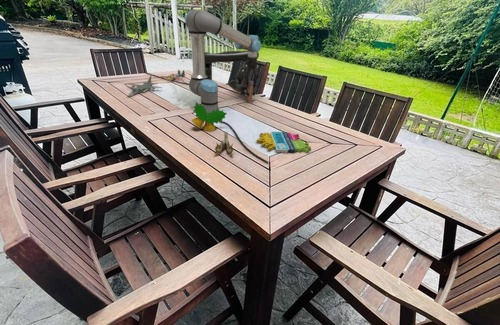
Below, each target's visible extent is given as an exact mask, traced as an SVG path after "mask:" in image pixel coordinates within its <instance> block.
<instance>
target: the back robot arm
mask: <svg viewBox="0 0 500 325" xmlns="http://www.w3.org/2000/svg"><path fill="white" fill-rule="evenodd" d="M259 57H260V54H259V51H258V52H257V57H256V58H257V60H258V59H259ZM247 60H248V50H225V51H222V52H216V53H211V52H208V51H205V74H206V75H207V77H208V80H213V64H215V63H236V62H240V61H244V63H243V64H242V66H241V67H240V69H239V70H238V72H237V73H236V75H235V79H236V80H237V81H236V80H234V79H232V80H230V81H229V82H228V86H229V87H230V89H232V90H234V91H235V92H237V93H238V94H239V95H242V96H246V97H247V96H249V93H247V91H248V87H246V85H244V84H242V82H243V80H244V78H243V74H244V66H243V65H247ZM247 71H248V67H247V68H246V74H247ZM146 74H147V75H150V76H151V75H152V76H153V77H155V78H160V79H162V80H166V79H167V78H164V77H163V78H161V76H158V75H156V74H152V73H149V72H146ZM170 82H175V83H179V84H182V85H183V84H184V85H187V86H189V83H186V82H182V81H178V80H175V79H172V80H171V81H170ZM255 96H256V92H255V90H254V89H253V97H255Z"/></svg>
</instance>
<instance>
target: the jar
mask: <svg viewBox="0 0 500 325" xmlns="http://www.w3.org/2000/svg"><path fill="white" fill-rule="evenodd" d="M247 88H248V91H247V93H249V96H247V95H246V103H250V104H251V103H253V98H254V96H253V90H254V87H253V85H249V84H248V87H247Z"/></svg>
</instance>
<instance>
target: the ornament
mask: <svg viewBox="0 0 500 325" xmlns="http://www.w3.org/2000/svg"><path fill="white" fill-rule="evenodd" d="M219 110H220V108H219V109H217V110H216V111H214V110H212V112H211V113H208V112H206V109H204V106H201V103H198V102H195V105H194V106H193V112H194V113H195V118H192V119H191V122H192V123H193V125H195V127H197V128H198V129H202V130H203V131H206V132H212V131H213V132H214V131H215V130H216V126H215V124H218V123H222V121H223V119H226V115H227V114H228V113H227V112H224V110H223V109H221V110H220V111H219ZM207 113H208V115H207ZM219 121H221V122H219ZM214 123H215V124H214Z"/></svg>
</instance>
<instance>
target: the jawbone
mask: <svg viewBox="0 0 500 325" xmlns="http://www.w3.org/2000/svg"><path fill="white" fill-rule="evenodd" d="M223 135H224V136H223V140H222V139H221V142H220V144H218V142H215V144H216V146H215V148H214V149H215V152H214V154H215V155H217V156H218V155H220V153H221V152H223V151H224V150H226V152H227V153H228V155H229V156H233V155H234V154H233V153H234V148H233V144H234V143H230V140H228V139H229V138H228V137H229V136H228V135H229V133H228V131H226V132H224V134H223Z"/></svg>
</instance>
